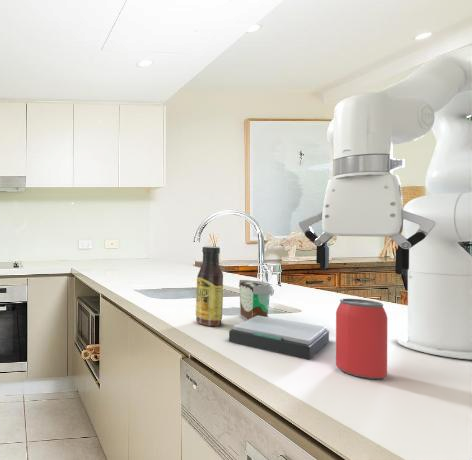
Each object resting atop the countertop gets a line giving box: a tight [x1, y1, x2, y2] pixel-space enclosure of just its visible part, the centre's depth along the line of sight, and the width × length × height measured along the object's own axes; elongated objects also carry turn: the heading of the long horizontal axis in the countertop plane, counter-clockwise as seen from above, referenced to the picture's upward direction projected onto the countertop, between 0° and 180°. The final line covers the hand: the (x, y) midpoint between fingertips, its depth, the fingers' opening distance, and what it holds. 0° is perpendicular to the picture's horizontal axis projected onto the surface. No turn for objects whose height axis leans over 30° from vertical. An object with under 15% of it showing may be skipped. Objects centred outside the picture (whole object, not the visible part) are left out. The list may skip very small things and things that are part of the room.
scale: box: [228, 316, 330, 360], centre depth 77 cm, size 17×14×3 cm
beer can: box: [335, 298, 388, 380], centre depth 60 cm, size 7×7×12 cm
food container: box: [238, 279, 274, 321], centre depth 95 cm, size 12×6×10 cm, turn 168°
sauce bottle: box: [195, 245, 224, 327], centre depth 91 cm, size 6×6×20 cm
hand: (359, 271), depth 60 cm, fingers open, 9 cm apart
